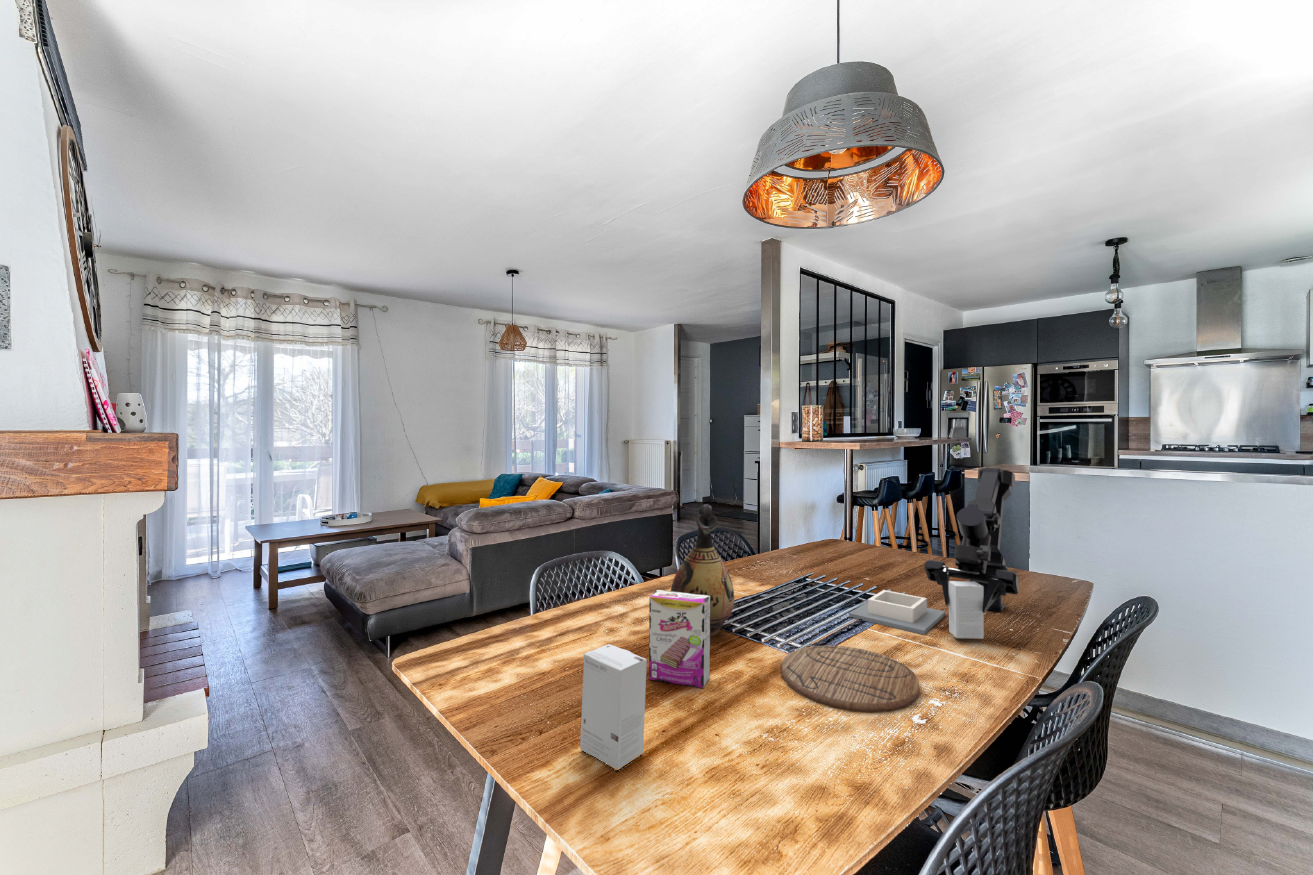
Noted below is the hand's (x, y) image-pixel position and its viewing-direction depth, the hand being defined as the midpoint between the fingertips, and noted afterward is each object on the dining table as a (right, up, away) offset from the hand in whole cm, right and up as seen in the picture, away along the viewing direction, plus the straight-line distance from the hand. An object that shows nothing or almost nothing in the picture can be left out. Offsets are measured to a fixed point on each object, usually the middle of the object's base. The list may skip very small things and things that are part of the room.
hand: (964, 608), depth 124 cm
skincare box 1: (-76, -9, -42) cm, 88 cm away
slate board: (-8, -7, +17) cm, 20 cm away
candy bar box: (-65, -8, -18) cm, 69 cm away
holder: (-8, -7, +17) cm, 20 cm away
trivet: (-33, -9, -18) cm, 39 cm away
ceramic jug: (-59, -8, +8) cm, 60 cm away
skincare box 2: (+1, -7, +1) cm, 7 cm away
